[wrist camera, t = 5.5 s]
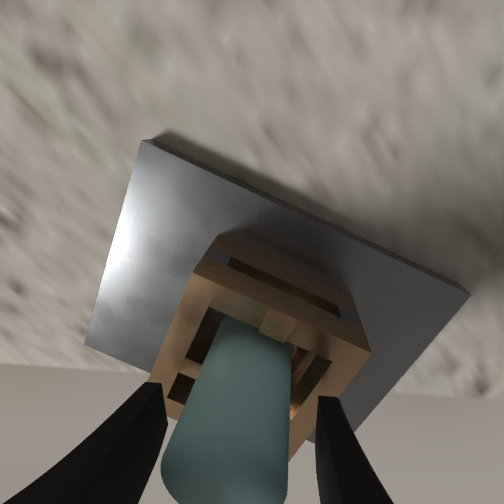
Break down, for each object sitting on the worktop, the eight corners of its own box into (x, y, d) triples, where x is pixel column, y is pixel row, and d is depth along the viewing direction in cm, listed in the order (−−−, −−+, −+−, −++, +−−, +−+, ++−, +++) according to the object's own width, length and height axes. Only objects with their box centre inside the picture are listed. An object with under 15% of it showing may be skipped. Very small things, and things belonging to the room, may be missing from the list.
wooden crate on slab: (460, 284, 15) (537, 358, 11) (334, 437, 20) (347, 536, 15) (150, 139, 14) (80, 146, 10) (94, 334, 19) (27, 404, 14)
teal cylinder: (290, 292, 15) (282, 433, 8) (294, 354, 16) (291, 530, 9) (219, 294, 16) (149, 427, 8) (228, 354, 17) (171, 520, 9)
